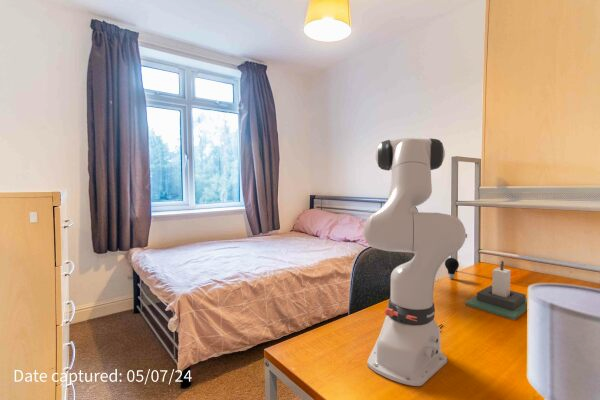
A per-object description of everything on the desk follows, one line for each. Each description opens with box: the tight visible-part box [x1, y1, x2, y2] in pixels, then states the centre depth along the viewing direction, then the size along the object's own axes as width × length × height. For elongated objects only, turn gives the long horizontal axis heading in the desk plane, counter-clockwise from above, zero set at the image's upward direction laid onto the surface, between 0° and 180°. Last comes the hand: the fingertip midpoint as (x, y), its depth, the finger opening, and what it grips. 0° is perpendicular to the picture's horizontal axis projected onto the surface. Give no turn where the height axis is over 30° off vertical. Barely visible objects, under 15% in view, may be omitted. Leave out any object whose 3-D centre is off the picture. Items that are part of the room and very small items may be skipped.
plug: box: [491, 260, 512, 298], centre depth 114 cm, size 4×4×16 cm
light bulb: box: [444, 257, 460, 280], centre depth 142 cm, size 6×6×10 cm
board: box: [464, 285, 528, 321], centre depth 115 cm, size 22×16×4 cm
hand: (460, 237), depth 121 cm, fingers open, 8 cm apart
